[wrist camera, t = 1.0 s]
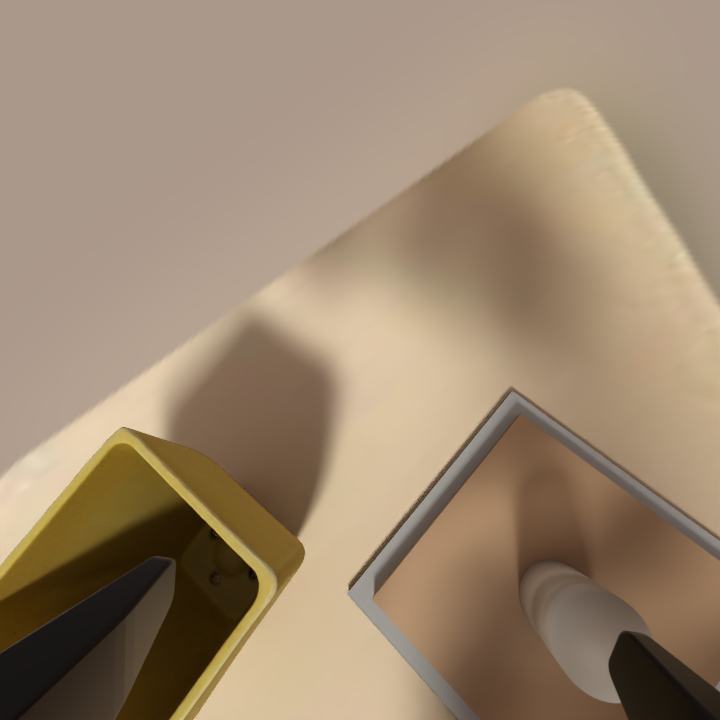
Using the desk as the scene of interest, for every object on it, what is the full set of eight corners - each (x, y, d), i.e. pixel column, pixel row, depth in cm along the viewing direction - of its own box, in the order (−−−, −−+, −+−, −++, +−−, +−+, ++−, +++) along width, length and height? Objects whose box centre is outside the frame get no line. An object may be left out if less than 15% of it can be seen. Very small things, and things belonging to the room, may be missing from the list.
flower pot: (235, 439, 22) (118, 420, 14) (343, 534, 19) (281, 582, 11) (140, 562, 21) (-54, 625, 12) (241, 682, 18) (83, 867, 10)
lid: (754, 593, 16) (907, 649, 11) (596, 837, 14) (687, 1031, 9) (517, 415, 19) (549, 397, 14) (374, 593, 18) (355, 639, 13)
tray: (785, 591, 16) (792, 593, 15) (601, 878, 14) (605, 887, 14) (511, 392, 20) (512, 390, 20) (348, 591, 18) (347, 593, 18)
